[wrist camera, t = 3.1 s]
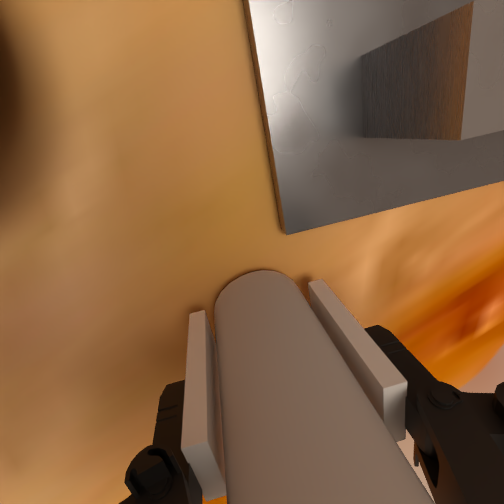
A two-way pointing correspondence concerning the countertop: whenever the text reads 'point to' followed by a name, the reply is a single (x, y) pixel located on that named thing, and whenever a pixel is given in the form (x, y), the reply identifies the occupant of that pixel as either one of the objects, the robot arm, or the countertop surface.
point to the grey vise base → (377, 102)
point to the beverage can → (297, 407)
